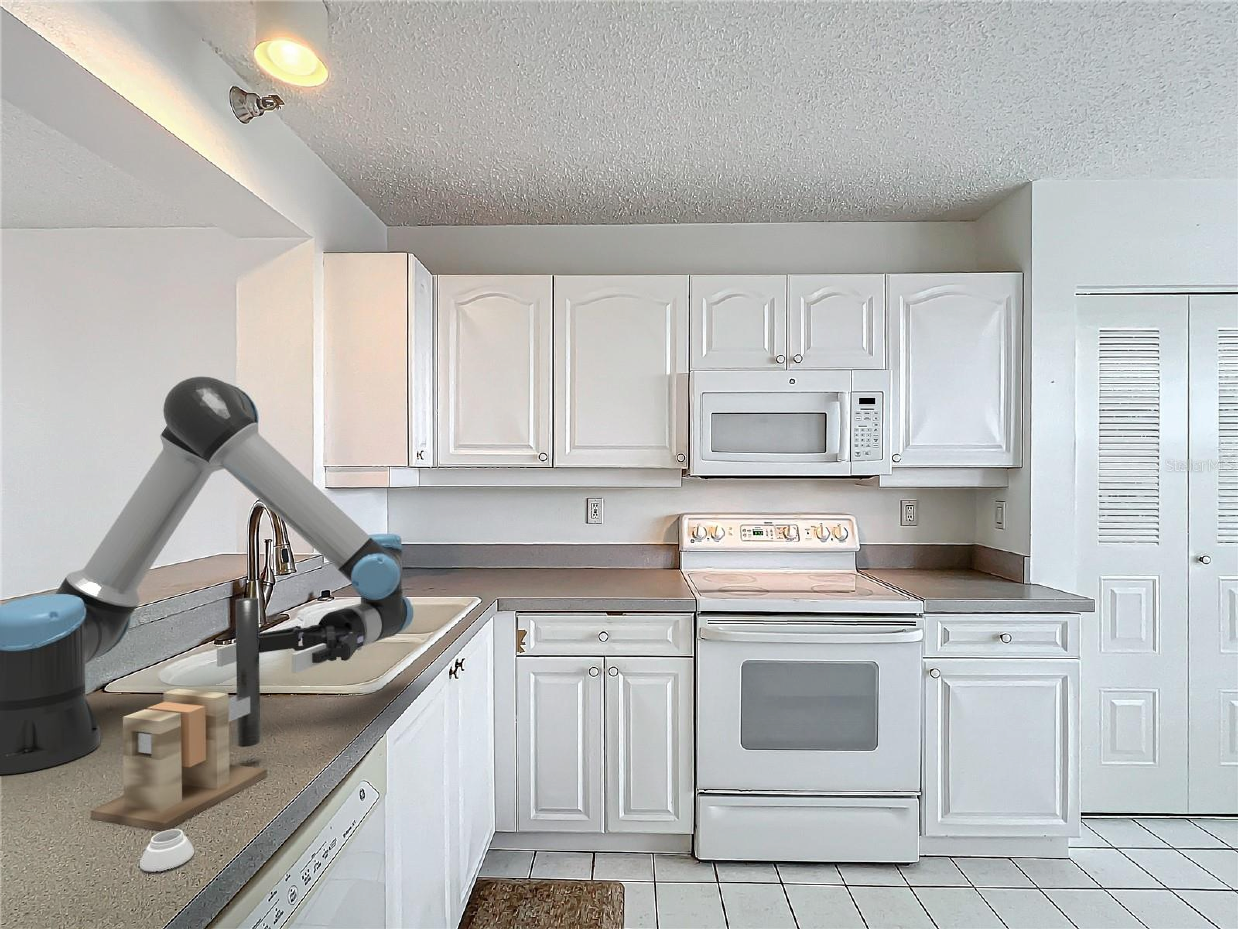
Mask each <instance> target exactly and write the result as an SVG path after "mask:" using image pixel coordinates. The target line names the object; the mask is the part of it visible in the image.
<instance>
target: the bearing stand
mask: <svg viewBox="0 0 1238 929" xmlns="http://www.w3.org/2000/svg"><path fill="white" fill-rule="evenodd" d="M162 695H163V702H171V703H180V704H189V705H198V706H205V715H206V760H204V761H202V762H200V763H198V764H196V765H194V766H191V767H184V766H181V713H174V712H165V711H156V710H147V709H146V708H145V709H141V710H139V711H137V712H133V713H131V714H128V715H125V716H123V717H122V746H123V748H122V750H123V751H122V755H123V757H122V758H123V762H122V764H123V795H121V796H119V797H116V798H115V799H113V800H110V801H109V802H106V803H104V804H102V805H100V806H97V807H96V808H92V809H91V810H90V820H91V819H92V820H97V821H101V822H102V821H103V822H109V823H114V824H118V825H124V826H125V825H126V826H131V827H136V828H141V829H149V830H154V831H158V832H159V831H160V832H163V831H166V830H172V829H173V828H175V827H176V825H177V826H179V825H180V824H182V823H184V822H185V820H186V821H188V820H190V819H191V818H193V817H195V816H197V815H199V814H200V812H201V811H202V812H205V811H206V810H208V809H209V808H211V807H213V805H214V806H215V805H217V804H219V803H220V802H222V801H224V800H227V799H228V798H230V797H232V796H234V795H236V794H237V792H238V793H239V792H241V791H243V790H245V789H247V788H248V787H251V786H252V785H255V784H256V783H258V782H260V781H262V780H264V779H265V778H267V777H268V772H267V771H268V769H266V768H259V767H258V768H257V767H251V766H243V765H237V764H235V765H234V764H230V726H229V725H230V722H229V706H228V698H229V693H224V692H215V691H205V690H197V689H196V690H195V689H185V688H174V689H171V690H167V691H165V692H163V694H162ZM139 732H146V733H151V754H149V753H142V752H138V733H139ZM233 794H234V795H233ZM207 808H208V809H207ZM205 809H206V810H205ZM202 812H201V813H202ZM198 813H199V814H198ZM196 814H197V815H196ZM194 815H195V816H194ZM192 816H193V817H192ZM187 819H188V820H187ZM183 821H184V822H183Z"/></svg>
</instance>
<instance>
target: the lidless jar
mask: <svg viewBox="0 0 1238 929" xmlns="http://www.w3.org/2000/svg"><path fill="white" fill-rule="evenodd" d="M194 853H195V850H194V846H193V845H192V843H191V841H190V840H189V839H188V837H187V836H186V835H184V831H183V830H181V829H177V828H174V829H173V828H171V829H169V830H166V831H160V832H158V833H155V835H153V836H151V838H150V842H149V843H148V845H147V846H146V847H145V850H144V852H143V854H142V856H141V858H140V860H139V867H140V869H141V870H142V871H144V872H153V873H155V872H156V871H158V872H164V870H165V871H168V870H167V869H169V870H171V868H172V869H174V867H175V868H177V867H179V866H182V865H183V864H184V863H186V862H188V861H189V860H190V859H192V857H193V855H195V854H194Z"/></svg>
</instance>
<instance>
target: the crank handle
mask: <svg viewBox="0 0 1238 929" xmlns="http://www.w3.org/2000/svg"><path fill="white" fill-rule="evenodd" d="M259 599H260V598H258V597H245V598H238V599H235V643H236V662H235V664H236V665H235V666H236V675H235V676H236V695H233V696H230V697H228V706H229V723H230V722H232V721H234V720H236V737H237V738H236V740H237V743H236V744H237V747H240V748H248V747H252V746H256V745H258V744H260V742H261V703H260V702H261V696H260V695H261V689H260V688H261V687H260V686H261V685H260V684H261V683H260V682H261V681H260V678H261V677H260V653H259V633H260V618H259V617H260V616H259V615H260V613H259V610H260V607H259V606H260V605H259ZM138 752H142V753H149V754H151V733H146V732H139V733H138Z"/></svg>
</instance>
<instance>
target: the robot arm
mask: <svg viewBox="0 0 1238 929" xmlns="http://www.w3.org/2000/svg"><path fill="white" fill-rule="evenodd" d="M162 412H163V418H164V421H165V424H166V426H165V428H164V429H163V430H162V432H161V433H160V436H159V437H160V441H161V444H162V450H161V452H160V453H159V455H158V456H157V457H156V459H155V460H154V462H153V464H152V465H151V467H150V468H149V470H148V471H147V473H146V474H145V476H144V477H143V479H142V480H141V482H140V483H139V485H138V486H137V488H136V490H134V492H133V494H132V495H131V497H130V499H129V500H128V501H127V503H126V505H125V506H124V507H123V509H121V510H122V511H121V512H120V514H119V515H118V517H117V518H116V519H115V520H114V523H113V524H112V525H111V527H110V529H109V530H108V532H107V533H106V534H105V536H104V537H103V540H101V542H100V544H99V545H98V547H97V548H96V550H95V551H94V553H93V554H92V555H91V557H90V559H89V560H88V562H87V563H86V565H85V566H84V568H82V569H78V570H75V571H73V572H69V573H68V574H67V575H66V576H65V578H64V579H63V581H62V582H61V585H60V586H59V587H58V588H57V590H56V592H55V593H54V594H43V595H42V594H41V595H35V596H29V597H25V598H24V599H18V600H13V601H10V602H7V603H5V604H2V605H0V775H11V774H20V773H28V772H33V771H38V770H43V769H48V768H51V767H55V766H58V765H62V764H64V763H68V762H71V761H74V760H77V759H79V758H81V757H83V756H85V755H88V754H89V753H91V752H93V751H94V750H96V749H97V748H98V747H99V745H101V730H100V729H101V728H100V727H99V724H98V722H97V720H96V717H95V715H94V712H93V710H92V708H91V706H90V705H91V704H89V702H88V699H87V696H86V695H87V694H86V693H87V692H86V664H88V663H90V662H91V661H93V660H94V659H97V658H100V657H102V656H103V655H105V654H107V653H109V652H110V651H111V650H112V649H114V648H115V647H116V646H117V645H118V644H119V643H121V641H122V640H123V638H124V637H125V635H126V634H127V632H128V631H129V628H130V624H131V618H132V615H133V613H134V611H135V609H137V608H138V605H139V603H140V601H141V599H140V597H139V594H138V588H139V586H140V584H141V583H142V582H143V579H144V578H145V577H146V575H147V574H148V572H149V571H150V569H151V568H152V566H153V564H154V563H155V561H156V560H157V558H158V557H159V555H160V554H161V552H162V551H163V549H164V548H165V546H166V545H167V543H168V542H169V540H170V538H171V537H172V536H173V534H174V532H175V530H177V527H178V526H179V524H180V523H181V521H182V520H183V518H184V516H185V515H186V514H187V512H188V510H189V509H190V508H191V506H192V505H193V503H194V501H195V500H196V498H197V497H198V495H199V494H200V492H201V490H202V489H203V488H204V487H205V484H206V483H207V481H208V480H209V478H210V477H211V475H212V474H213V473H215V472H217V471H221V470H226V471H227V472H228V473H229V474H230V475H232V476H233V478H235V479H236V480H237V481H238V482H239V483H240V484H242V486H244V487H245V488H246V489H248V491H249V492H251V493H252V494H253V495H254V496H255V497H256V498H258V500H259V501H260V502H262V503H263V504H264V505H265V506H266V507H267V508H268V509H270V510H271V511H272V513H273V514H275V515H276V516H277V517H278V518H280V520H282V521H283V522H284V523H285V524H286V525H287V526H289V527H290V528H291V529H292V531H294V532H295V533H297V535H299V537H301V538H302V539H303V540H304V541H305V542H306V543H307V544H309V545H310V546H311V547H312V548H313V549H314V550H315V551H317V553H318V554H319V555H321V556H322V557H324V558H325V560H327V561H328V562H329V563H330V564H331V565H333V566H334V567H335V569H337V570H338V571H339V573H340V574H341V575H343V576H344V577H345V578H346V579H347V580H348V581H350V583H351V586H352V588H353V589H354V591H355V592H356V593H357V594H358V595H359V596H360V603H356V604H352V605H350V606H346V607H344V608H340V609H336V610H333V611H329V612H328V613H326V614H324V615H323V616H322V617H321V619H320V620H319V622H318V624H313V625H310V626H307V627H302V626H300V625H295V626H293V627H287V628H283V629H277V630H271V631H266V632H259V654H263V653H267V652H270V653H271V652H276V651H283V650H284V651H285V650H291V649H293V650H294V651H295V652H294V653H291V673H292V674H297V673H301V672H303V671H306V670H308V669H310V668H313V667H316V666H318V665H322V664H323V663H326V662H327V661H330V662H334V661H337V658H340V660H341V661H343V662H346V661H348V660H350V659H351V657H352V656H353V655H354V653H355V652H356V651H361V650H362V648H363V647H366V646H368V645H370V644H372V643H376V642H378V641H381V640H384V639H387V638H392V637H395V636H396V635H398V634H399V633H401V632H403V631H404V630H406V629H407V628H408V627H409V626H410V625H411V623H412V621H413V618H414V607H413V605H412V603H411V601H410V599H409V598H408V597H407V596H405V595H404V594H403V547H402V546H403V545H402V538H401V536H400V535H398V534H396V533H395V534H394V533H379V534H378V533H377V534H376V533H374V534H368V533H367V532H366V531H365V530H364V529H362V527H361V526H359V525H358V524H357V523H356V522H355V521H354V520H353V519H351V518H350V517H349V516H348V514H346V513H345V512H344V510H342V509H341V508H339V506H337V504H335V503H334V502H333V501H332V500H331V499H330V498H329V497H328V496H327V495H325V494H324V493H323V492H322V491H321V490H320V489H319V488H318V487H317V486H316V485H315V484H314V483H313V482H312V481H311V480H310V479H308V478H307V477H306V476H305V475H304V474H303V473H302V472H301V471H300V470H298V468H297V467H295V466H294V465H293V464H292V463H291V462H290V461H289V460H288V459H287V458H286V457H285V456H283V454H281V453H280V452H279V451H278V450H277V449H276V448H274V446H273V445H271V444H270V443H269V442H268V440H266V439H265V438H264V437H263V436H261V435H260V433H259V418H260V417H259V412H258V409H257V406H256V404H255V402H254V401H253V400H252V398H251V397H250V396H249V395H248V393H246V392H244V391H243V389H240V388H239V387H238V386H234V385H232V384H230V383H227V382H225V381H222V380H220V379H217V378H214V377H210V376H193V377H189V378H187V379H184V380H182V381H180V382H179V383H177V384H175V386H173V387H172V388H171V389H170V391H169V392H168V393H167V395H166V397H165V399H164V404H163V409H162ZM300 642H301V644H302V645H300V644H299V643H300ZM233 663H236V642H234V643H231V644H228V645H223V646H220V647H217V648H216V667H221V668H222V667H225V666H227V665H230V664H233Z"/></svg>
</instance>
